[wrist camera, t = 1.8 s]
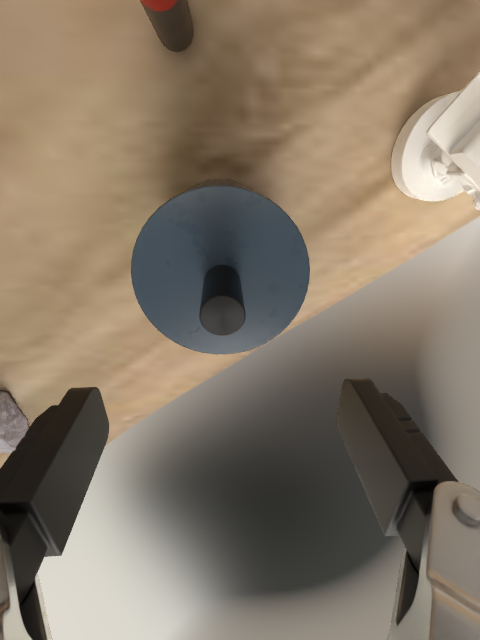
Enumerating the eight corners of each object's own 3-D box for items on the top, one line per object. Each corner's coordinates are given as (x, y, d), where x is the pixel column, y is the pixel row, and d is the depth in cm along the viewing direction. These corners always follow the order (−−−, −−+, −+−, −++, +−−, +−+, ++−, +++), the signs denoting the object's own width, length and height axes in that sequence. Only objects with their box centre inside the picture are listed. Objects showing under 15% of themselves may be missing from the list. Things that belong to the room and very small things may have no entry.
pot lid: (218, 136, 17) (217, 127, 11) (338, 273, 21) (377, 313, 16) (100, 277, 20) (58, 320, 15) (224, 370, 25) (225, 428, 19)
